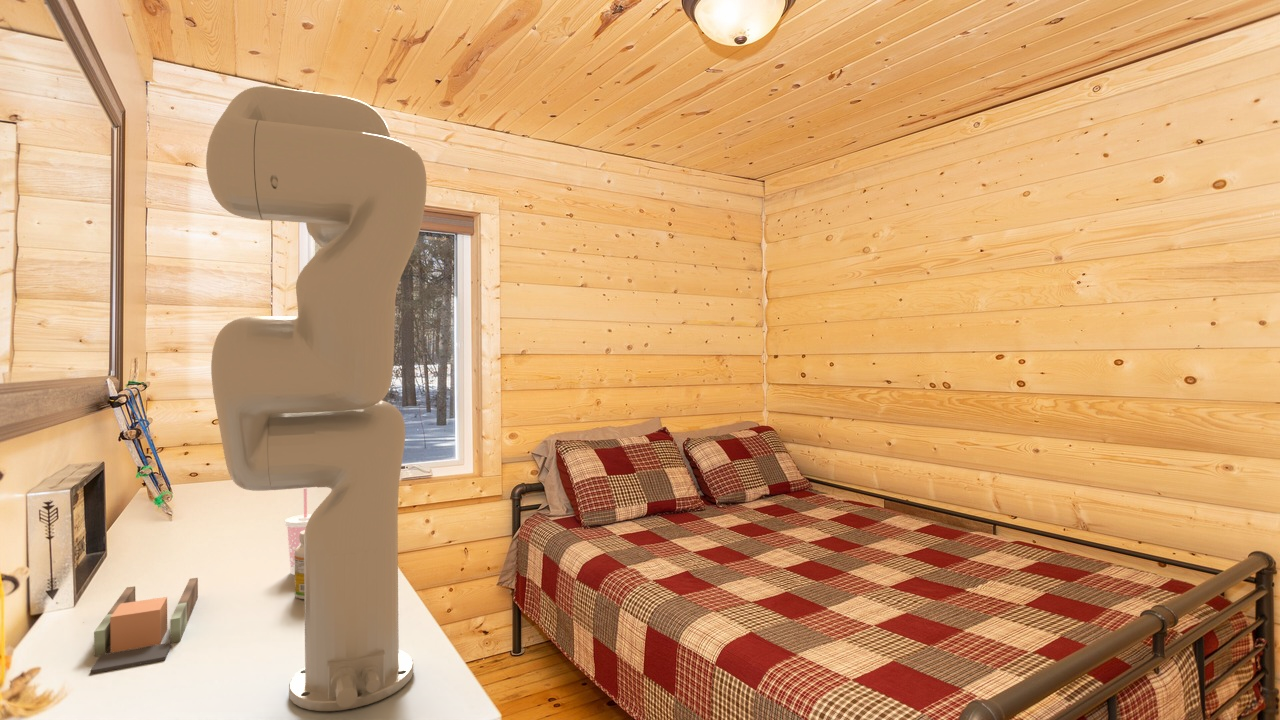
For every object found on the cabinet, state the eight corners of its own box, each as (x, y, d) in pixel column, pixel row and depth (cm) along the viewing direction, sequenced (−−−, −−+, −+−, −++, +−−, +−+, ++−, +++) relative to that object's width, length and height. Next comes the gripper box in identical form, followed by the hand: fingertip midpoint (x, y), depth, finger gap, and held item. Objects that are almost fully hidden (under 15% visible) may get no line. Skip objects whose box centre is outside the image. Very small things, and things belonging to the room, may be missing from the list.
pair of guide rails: (180, 641, 83) (179, 617, 83) (94, 656, 79) (94, 631, 79) (197, 597, 99) (197, 577, 99) (126, 608, 95) (126, 587, 94)
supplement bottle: (326, 585, 104) (326, 524, 104) (339, 593, 100) (338, 530, 100) (290, 593, 100) (289, 530, 100) (301, 603, 96) (300, 537, 96)
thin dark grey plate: (165, 660, 78) (165, 656, 78) (90, 673, 75) (90, 670, 75) (171, 645, 82) (171, 642, 82) (100, 658, 79) (100, 654, 79)
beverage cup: (325, 573, 109) (325, 490, 109) (284, 578, 107) (283, 493, 107) (325, 562, 115) (325, 484, 115) (286, 568, 112) (285, 487, 112)
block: (160, 644, 82) (160, 609, 82) (110, 653, 80) (110, 617, 80) (167, 630, 87) (167, 596, 87) (120, 638, 85) (120, 603, 85)
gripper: (322, 295, 103) (323, 410, 103) (331, 284, 90) (332, 416, 90) (372, 297, 107) (373, 408, 107) (388, 287, 94) (389, 413, 94)
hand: (354, 411), depth 99 cm, fingers closed
